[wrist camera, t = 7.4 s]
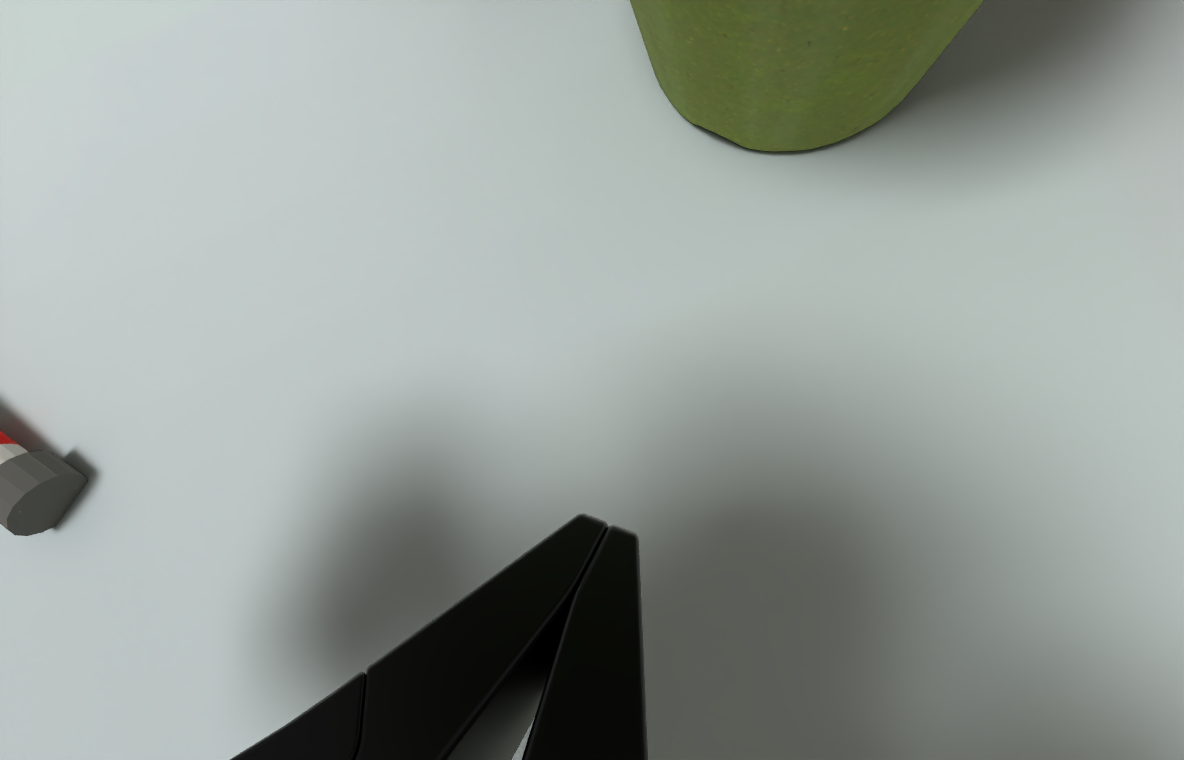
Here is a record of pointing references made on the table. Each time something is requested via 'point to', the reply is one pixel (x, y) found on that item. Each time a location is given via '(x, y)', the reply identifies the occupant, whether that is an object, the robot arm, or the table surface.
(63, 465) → the toy hammer
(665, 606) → the table surface
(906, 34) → the plant pot
